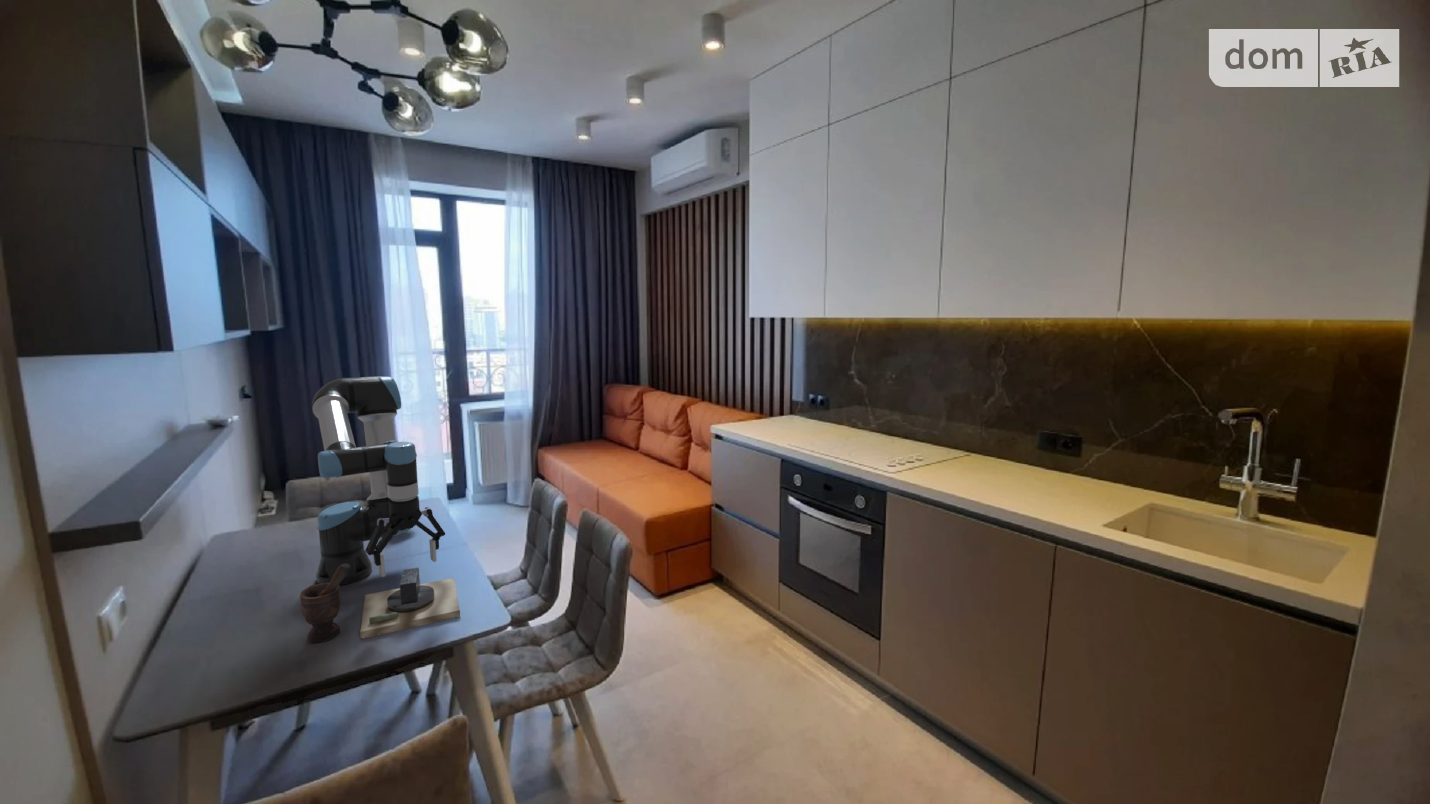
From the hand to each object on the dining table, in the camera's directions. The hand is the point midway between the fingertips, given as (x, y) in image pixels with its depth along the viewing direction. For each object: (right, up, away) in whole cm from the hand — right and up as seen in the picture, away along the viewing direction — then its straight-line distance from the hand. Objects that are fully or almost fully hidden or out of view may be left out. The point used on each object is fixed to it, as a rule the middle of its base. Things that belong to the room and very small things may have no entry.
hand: (408, 567), depth 161 cm
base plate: (0, -12, +2) cm, 13 cm away
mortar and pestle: (-14, -15, -12) cm, 23 cm away
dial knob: (0, -10, +2) cm, 10 cm away
